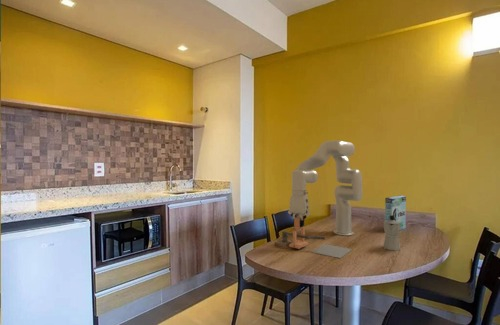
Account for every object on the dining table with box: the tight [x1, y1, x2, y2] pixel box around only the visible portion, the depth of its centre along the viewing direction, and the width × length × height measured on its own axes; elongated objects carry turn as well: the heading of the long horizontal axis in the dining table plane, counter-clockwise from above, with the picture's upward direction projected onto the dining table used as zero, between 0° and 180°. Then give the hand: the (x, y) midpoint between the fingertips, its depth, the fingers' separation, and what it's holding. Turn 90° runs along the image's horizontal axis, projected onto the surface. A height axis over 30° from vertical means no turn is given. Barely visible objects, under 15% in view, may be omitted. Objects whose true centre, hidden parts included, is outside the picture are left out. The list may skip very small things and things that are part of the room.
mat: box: [311, 243, 353, 260], centre depth 152 cm, size 17×15×1 cm
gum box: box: [384, 195, 407, 231], centre depth 198 cm, size 20×5×23 cm, turn 126°
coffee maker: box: [382, 215, 401, 252], centre depth 158 cm, size 15×9×18 cm, turn 151°
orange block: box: [288, 215, 309, 250], centre depth 158 cm, size 10×6×15 cm, turn 142°
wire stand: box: [274, 230, 326, 249], centre depth 157 cm, size 10×26×8 cm, turn 52°
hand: (298, 226), depth 158 cm, fingers closed on orange block, 3 cm apart
